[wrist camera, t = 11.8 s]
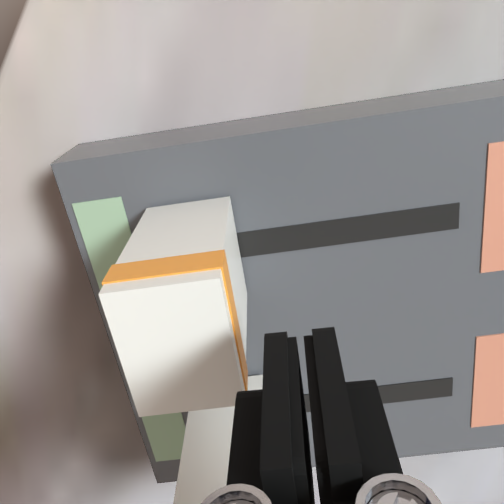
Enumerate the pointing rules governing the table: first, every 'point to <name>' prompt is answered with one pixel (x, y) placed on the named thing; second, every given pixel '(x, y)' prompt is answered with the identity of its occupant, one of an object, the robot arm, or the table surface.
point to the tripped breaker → (180, 309)
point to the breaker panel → (332, 255)
